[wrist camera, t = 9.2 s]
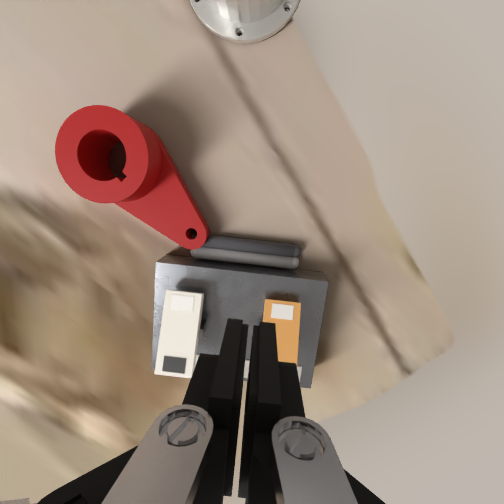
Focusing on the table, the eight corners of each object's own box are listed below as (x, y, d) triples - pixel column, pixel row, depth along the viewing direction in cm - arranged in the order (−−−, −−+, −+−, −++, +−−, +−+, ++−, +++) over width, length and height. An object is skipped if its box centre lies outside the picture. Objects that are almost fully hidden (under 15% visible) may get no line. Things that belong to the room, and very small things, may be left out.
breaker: (166, 289, 37) (162, 289, 35) (208, 293, 37) (205, 294, 35) (156, 368, 36) (150, 373, 34) (198, 373, 36) (194, 378, 34)
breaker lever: (261, 301, 37) (261, 298, 36) (301, 305, 37) (304, 303, 36) (252, 382, 35) (253, 384, 33) (296, 388, 35) (299, 390, 33)
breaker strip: (166, 254, 41) (151, 265, 35) (322, 271, 40) (331, 286, 35) (161, 352, 44) (147, 377, 38) (306, 369, 43) (312, 396, 38)
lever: (74, 159, 38) (36, 152, 32) (127, 102, 37) (98, 83, 30) (178, 267, 40) (162, 281, 34) (232, 217, 39) (226, 223, 32)
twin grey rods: (192, 231, 40) (190, 233, 38) (300, 243, 40) (302, 246, 38) (191, 255, 40) (188, 258, 39) (297, 267, 40) (298, 271, 39)
